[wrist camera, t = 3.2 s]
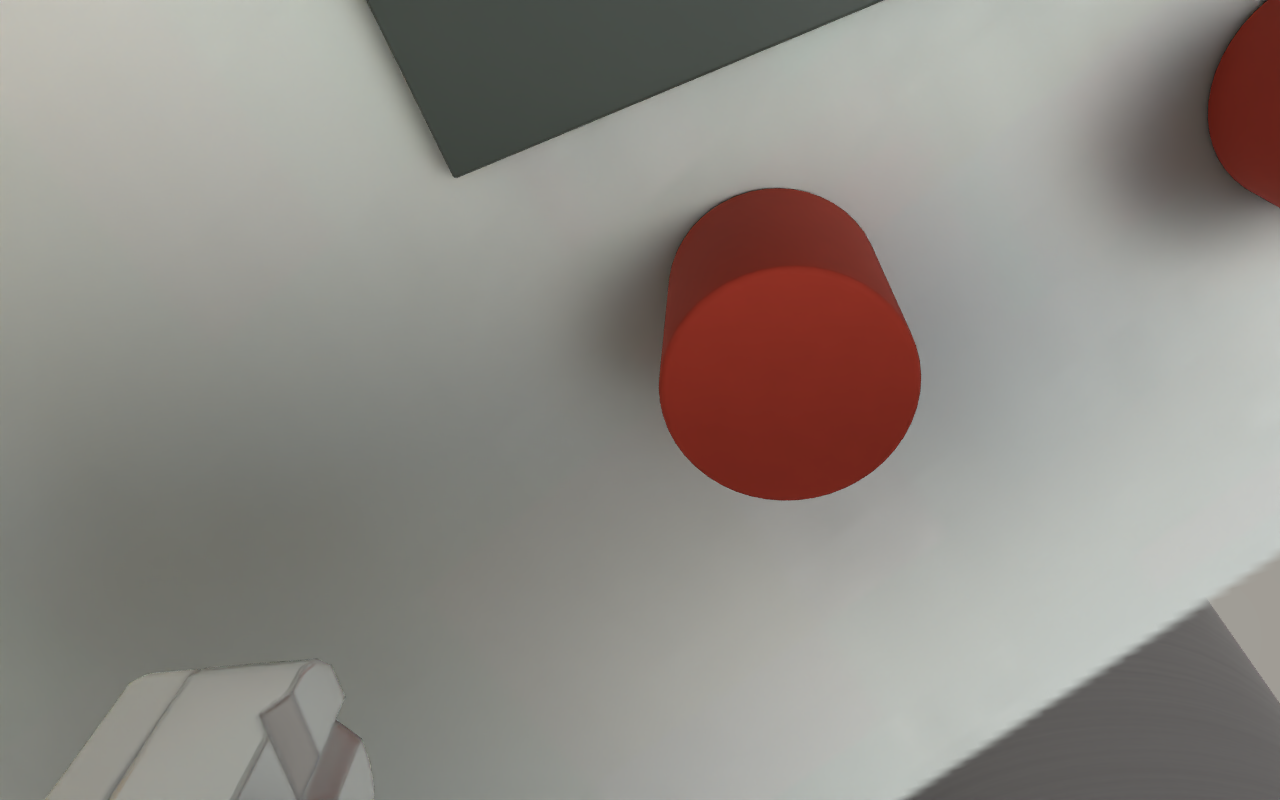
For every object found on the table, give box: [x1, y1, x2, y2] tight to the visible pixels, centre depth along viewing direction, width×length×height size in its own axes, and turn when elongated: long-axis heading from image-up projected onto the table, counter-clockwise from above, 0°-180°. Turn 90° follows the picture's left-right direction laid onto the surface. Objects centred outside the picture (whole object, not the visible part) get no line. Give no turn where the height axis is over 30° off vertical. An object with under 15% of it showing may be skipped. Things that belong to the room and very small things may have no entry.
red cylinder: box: [659, 188, 921, 500], centre depth 14 cm, size 3×3×4 cm
